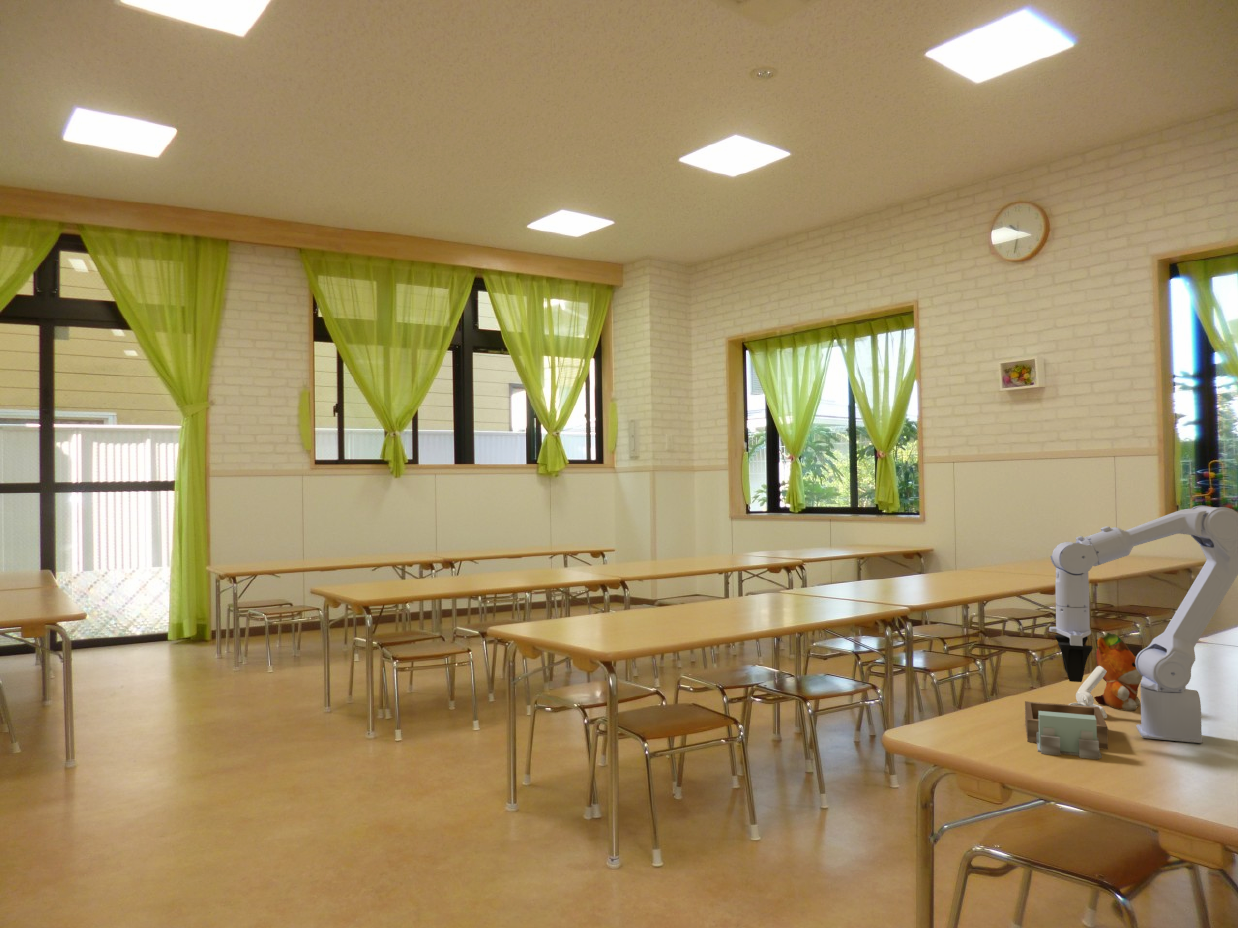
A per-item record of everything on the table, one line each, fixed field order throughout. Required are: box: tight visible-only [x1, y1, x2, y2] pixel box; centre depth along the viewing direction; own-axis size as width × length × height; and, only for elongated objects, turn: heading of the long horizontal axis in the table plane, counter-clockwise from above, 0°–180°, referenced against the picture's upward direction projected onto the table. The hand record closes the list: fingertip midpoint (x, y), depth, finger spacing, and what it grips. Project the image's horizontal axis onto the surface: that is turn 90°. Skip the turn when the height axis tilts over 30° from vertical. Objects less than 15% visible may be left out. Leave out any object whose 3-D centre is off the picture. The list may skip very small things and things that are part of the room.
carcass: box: [1024, 700, 1109, 760], centre depth 163 cm, size 13×21×4 cm, turn 157°
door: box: [1038, 711, 1097, 753], centre depth 157 cm, size 9×3×6 cm, turn 67°
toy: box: [1093, 632, 1142, 712], centre depth 187 cm, size 11×9×15 cm
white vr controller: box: [1067, 665, 1108, 720], centre depth 180 cm, size 8×12×7 cm
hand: (1073, 676), depth 168 cm, fingers open, 7 cm apart
